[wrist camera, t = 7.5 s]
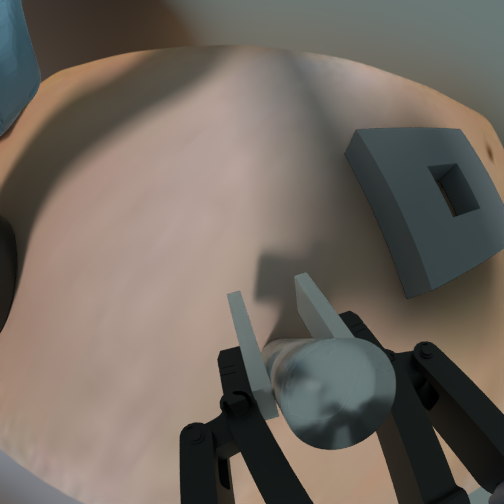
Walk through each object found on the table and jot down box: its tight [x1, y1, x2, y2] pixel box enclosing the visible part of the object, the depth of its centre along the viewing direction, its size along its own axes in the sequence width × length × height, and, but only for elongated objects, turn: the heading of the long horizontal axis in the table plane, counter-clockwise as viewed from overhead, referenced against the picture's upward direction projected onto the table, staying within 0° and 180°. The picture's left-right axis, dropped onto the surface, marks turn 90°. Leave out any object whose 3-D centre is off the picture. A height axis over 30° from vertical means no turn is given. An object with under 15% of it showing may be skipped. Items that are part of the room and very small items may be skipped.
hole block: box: [345, 128, 504, 299], centre depth 20 cm, size 16×14×4 cm
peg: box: [261, 338, 396, 450], centre depth 12 cm, size 3×3×12 cm
